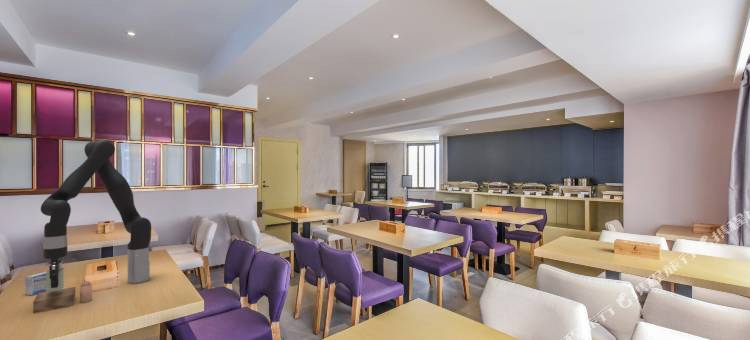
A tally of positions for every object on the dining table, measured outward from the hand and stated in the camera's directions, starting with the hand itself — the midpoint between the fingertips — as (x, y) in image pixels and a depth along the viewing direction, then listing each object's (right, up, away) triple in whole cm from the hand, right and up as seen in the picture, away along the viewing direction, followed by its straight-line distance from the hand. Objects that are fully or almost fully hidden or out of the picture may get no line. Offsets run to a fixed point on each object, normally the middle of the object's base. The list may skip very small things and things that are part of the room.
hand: (55, 285), depth 143 cm
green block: (0, -1, 0) cm, 1 cm away
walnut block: (0, -9, 0) cm, 9 cm away
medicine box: (-22, -8, +14) cm, 27 cm away
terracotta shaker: (+10, -8, +4) cm, 13 cm away
